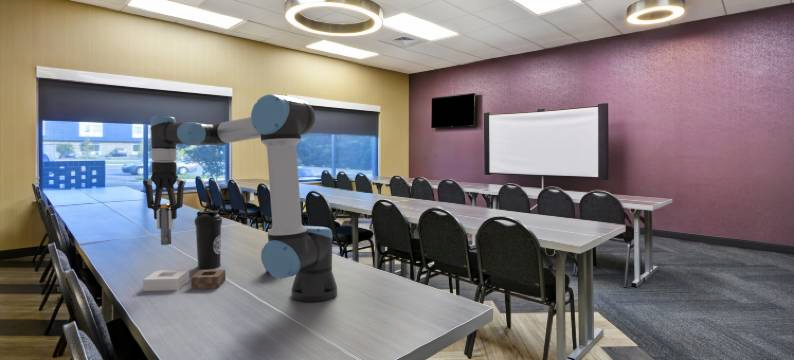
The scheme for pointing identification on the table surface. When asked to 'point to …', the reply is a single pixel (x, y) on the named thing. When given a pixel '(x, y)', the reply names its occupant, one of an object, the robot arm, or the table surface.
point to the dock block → (166, 280)
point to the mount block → (208, 279)
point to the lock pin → (165, 224)
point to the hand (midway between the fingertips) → (165, 228)
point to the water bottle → (208, 239)
